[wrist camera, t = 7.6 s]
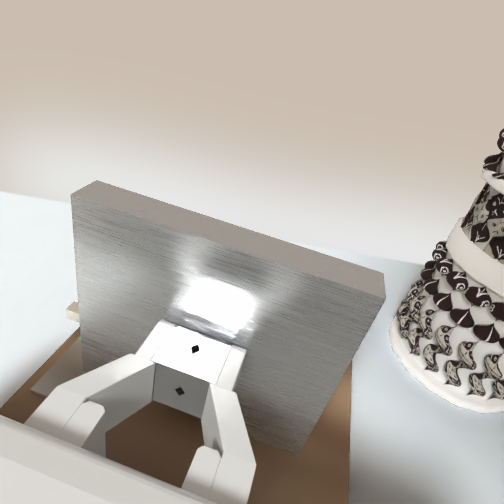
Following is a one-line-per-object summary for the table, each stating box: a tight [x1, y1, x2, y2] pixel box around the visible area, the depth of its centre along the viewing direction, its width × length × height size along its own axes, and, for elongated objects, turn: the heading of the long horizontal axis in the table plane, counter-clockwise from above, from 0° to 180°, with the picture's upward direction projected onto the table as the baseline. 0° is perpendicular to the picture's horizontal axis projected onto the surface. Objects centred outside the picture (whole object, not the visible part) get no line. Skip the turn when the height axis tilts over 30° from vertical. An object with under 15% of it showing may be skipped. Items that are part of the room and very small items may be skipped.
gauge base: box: [0, 327, 352, 504], centre depth 17 cm, size 12×14×6 cm
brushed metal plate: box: [66, 181, 386, 456], centre depth 14 cm, size 5×12×9 cm, turn 75°
